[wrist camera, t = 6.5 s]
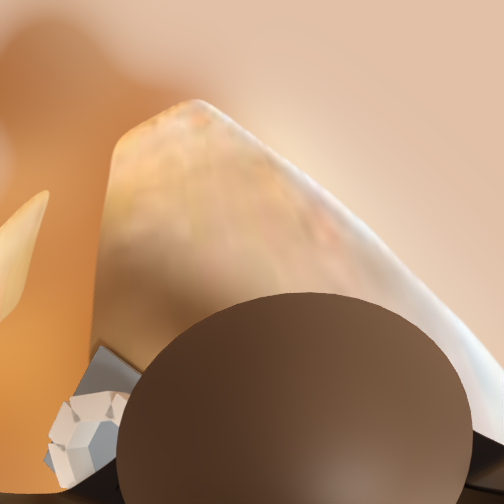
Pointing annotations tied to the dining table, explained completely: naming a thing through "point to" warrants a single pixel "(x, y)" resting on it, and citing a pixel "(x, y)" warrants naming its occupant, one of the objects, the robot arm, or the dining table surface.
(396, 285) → the dining table surface
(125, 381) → the socket plate
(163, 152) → the dining table surface
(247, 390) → the walnut peg
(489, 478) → the robot arm
